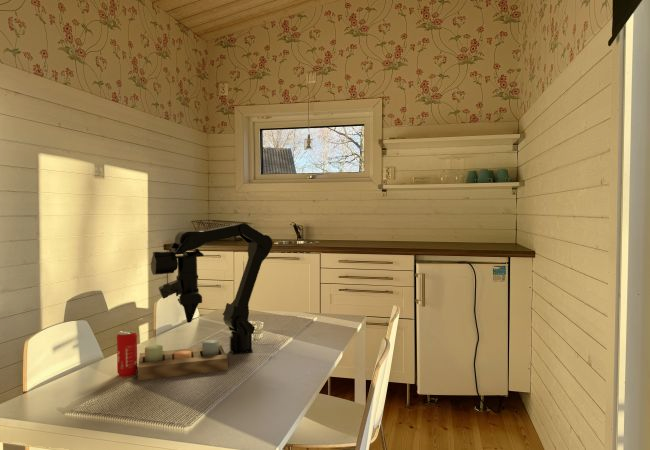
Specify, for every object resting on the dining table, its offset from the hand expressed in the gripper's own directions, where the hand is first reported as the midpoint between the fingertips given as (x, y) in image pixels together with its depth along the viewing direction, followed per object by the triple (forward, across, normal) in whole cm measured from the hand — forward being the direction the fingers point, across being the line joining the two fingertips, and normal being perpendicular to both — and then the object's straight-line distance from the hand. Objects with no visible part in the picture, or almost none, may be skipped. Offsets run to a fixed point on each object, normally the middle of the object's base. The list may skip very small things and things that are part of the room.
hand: (189, 322), depth 146 cm
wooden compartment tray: (+12, +6, -3) cm, 14 cm away
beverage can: (+12, +7, -18) cm, 22 cm away
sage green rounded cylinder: (+9, +7, +5) cm, 12 cm away
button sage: (+9, +6, -11) cm, 15 cm away
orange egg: (+11, +6, -3) cm, 13 cm away
